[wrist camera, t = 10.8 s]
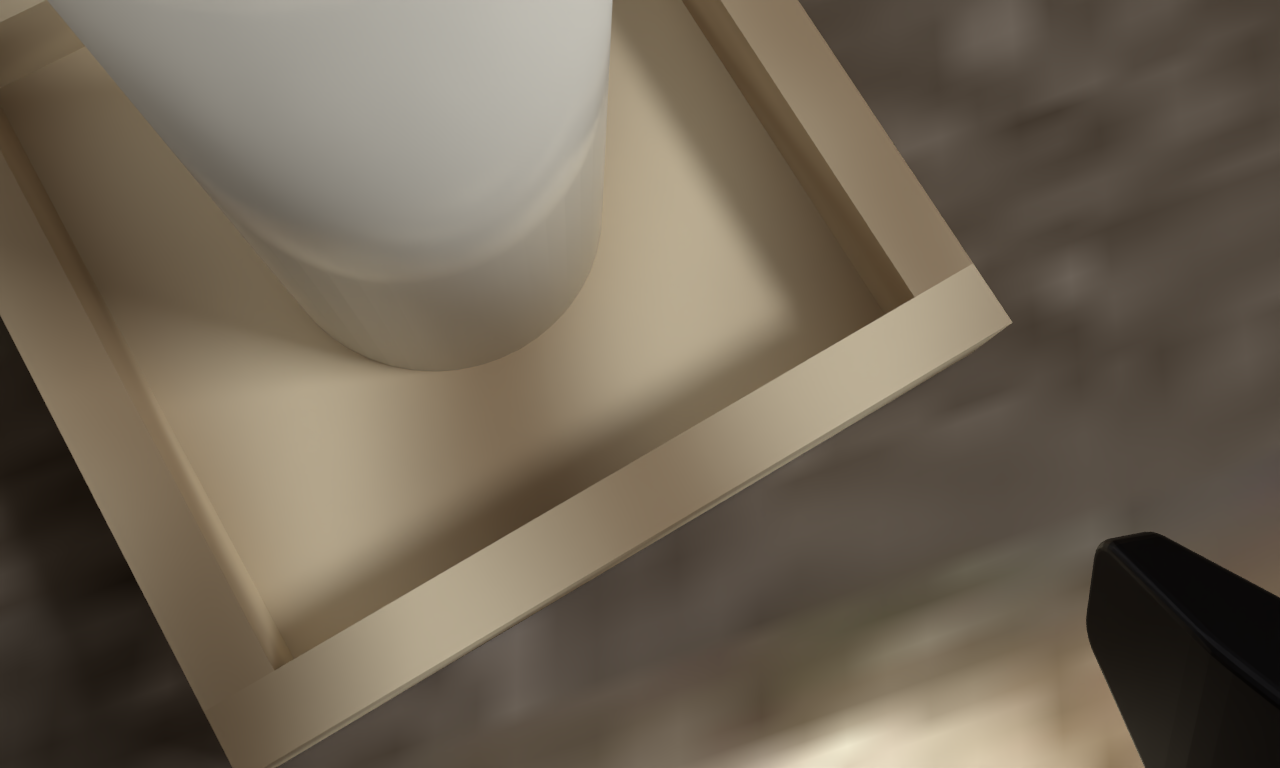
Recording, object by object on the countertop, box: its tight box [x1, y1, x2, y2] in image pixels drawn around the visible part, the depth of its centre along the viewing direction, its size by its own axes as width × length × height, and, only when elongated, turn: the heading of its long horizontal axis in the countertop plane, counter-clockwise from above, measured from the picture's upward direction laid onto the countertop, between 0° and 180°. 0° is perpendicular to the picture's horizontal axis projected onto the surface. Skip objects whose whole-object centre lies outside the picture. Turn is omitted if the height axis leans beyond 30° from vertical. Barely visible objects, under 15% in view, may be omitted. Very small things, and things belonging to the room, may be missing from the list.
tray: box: [0, 0, 1012, 768], centre depth 18 cm, size 12×12×2 cm
